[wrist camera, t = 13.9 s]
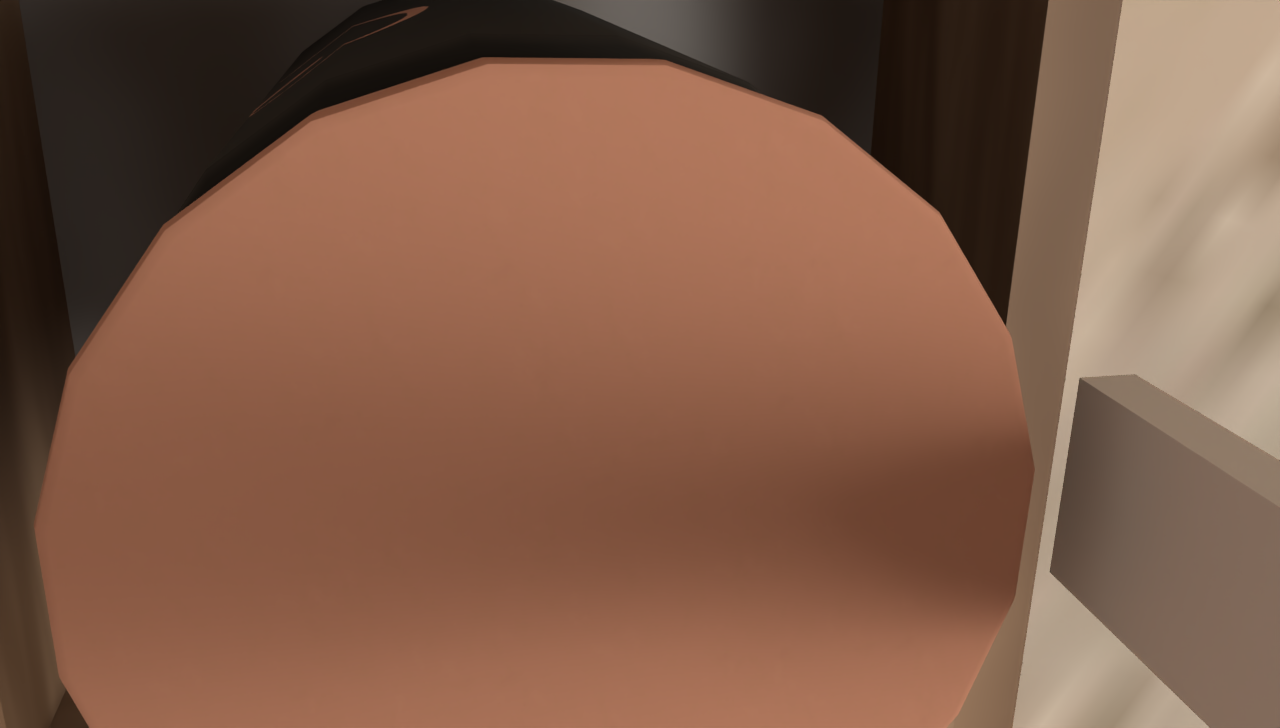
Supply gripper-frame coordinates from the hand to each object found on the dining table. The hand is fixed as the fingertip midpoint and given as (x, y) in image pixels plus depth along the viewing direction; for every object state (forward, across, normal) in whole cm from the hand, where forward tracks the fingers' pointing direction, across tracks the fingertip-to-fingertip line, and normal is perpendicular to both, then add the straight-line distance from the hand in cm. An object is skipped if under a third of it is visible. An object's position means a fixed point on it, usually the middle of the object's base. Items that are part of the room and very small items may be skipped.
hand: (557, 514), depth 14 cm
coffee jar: (+17, 0, 0) cm, 17 cm away
